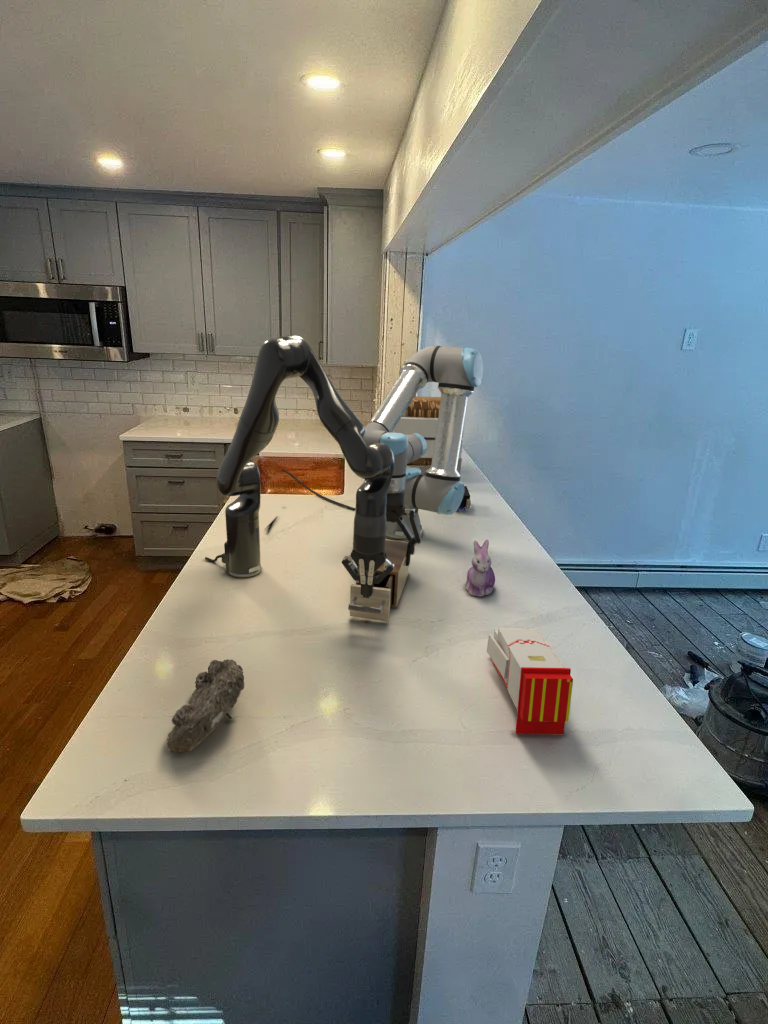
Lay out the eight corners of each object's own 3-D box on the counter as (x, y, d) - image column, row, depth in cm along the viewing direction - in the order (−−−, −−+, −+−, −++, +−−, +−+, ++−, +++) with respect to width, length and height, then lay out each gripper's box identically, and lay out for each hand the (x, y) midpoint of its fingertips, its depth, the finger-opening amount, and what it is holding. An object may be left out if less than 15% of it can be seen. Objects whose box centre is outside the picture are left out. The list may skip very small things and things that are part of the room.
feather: (285, 510, 221) (287, 506, 220) (266, 535, 194) (269, 530, 194) (281, 507, 221) (283, 503, 220) (262, 532, 194) (265, 527, 193)
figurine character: (470, 516, 223) (465, 500, 237) (473, 499, 220) (467, 484, 233) (453, 516, 223) (449, 500, 236) (455, 498, 220) (451, 483, 233)
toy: (534, 612, 132) (582, 675, 102) (529, 665, 135) (574, 741, 105) (482, 611, 131) (516, 674, 102) (478, 664, 134) (510, 740, 105)
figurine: (477, 600, 156) (482, 550, 151) (456, 584, 164) (460, 537, 159) (504, 594, 160) (510, 545, 155) (482, 579, 168) (487, 532, 163)
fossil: (192, 660, 117) (244, 628, 112) (224, 691, 120) (276, 661, 115) (142, 746, 98) (202, 712, 93) (182, 779, 101) (242, 748, 96)
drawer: (384, 633, 137) (385, 601, 134) (344, 627, 138) (344, 596, 135) (401, 586, 160) (402, 558, 157) (366, 582, 162) (367, 554, 159)
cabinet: (396, 608, 150) (398, 572, 147) (355, 602, 152) (356, 567, 149) (408, 574, 170) (410, 542, 166) (371, 570, 171) (373, 538, 168)
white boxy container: (382, 463, 289) (386, 382, 275) (445, 464, 293) (451, 384, 279) (390, 482, 257) (394, 392, 243) (460, 483, 261) (468, 394, 247)
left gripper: (337, 532, 128) (336, 600, 134) (395, 539, 126) (390, 607, 132) (345, 520, 135) (344, 585, 141) (400, 527, 133) (396, 592, 139)
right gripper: (346, 489, 155) (345, 562, 163) (432, 497, 151) (426, 571, 159) (353, 481, 162) (351, 551, 170) (435, 489, 158) (429, 561, 166)
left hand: (366, 596), depth 137 cm, fingers closed
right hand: (387, 561), depth 164 cm, fingers closed on cabinet, 11 cm apart
